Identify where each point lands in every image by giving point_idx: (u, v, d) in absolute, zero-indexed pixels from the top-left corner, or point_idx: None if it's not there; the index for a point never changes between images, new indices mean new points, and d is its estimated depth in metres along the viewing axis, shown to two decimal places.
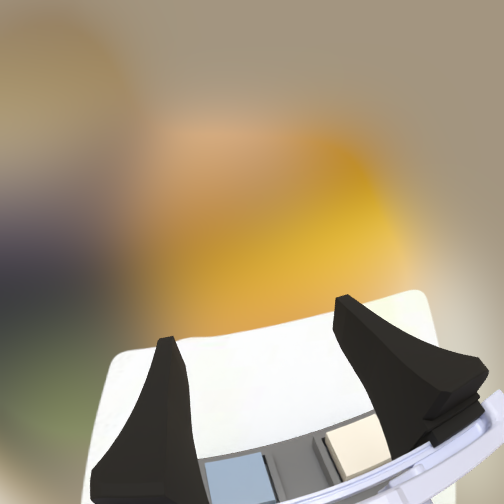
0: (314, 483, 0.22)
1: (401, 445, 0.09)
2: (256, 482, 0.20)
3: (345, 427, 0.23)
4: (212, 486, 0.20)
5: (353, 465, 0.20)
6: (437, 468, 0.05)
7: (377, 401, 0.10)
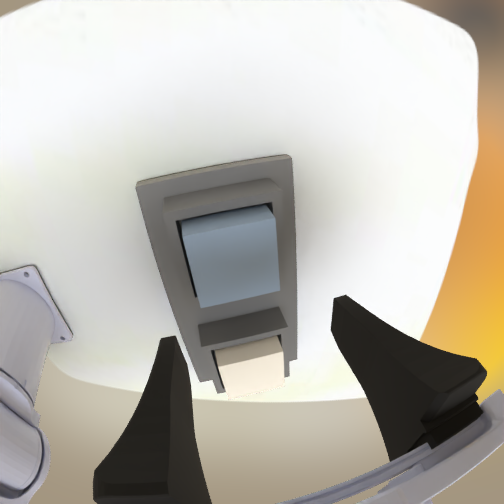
0: (226, 307, 0.24)
1: (399, 446, 0.09)
2: (230, 287, 0.18)
3: (281, 365, 0.23)
4: (228, 232, 0.16)
5: (230, 371, 0.22)
6: (437, 469, 0.05)
7: (375, 402, 0.10)
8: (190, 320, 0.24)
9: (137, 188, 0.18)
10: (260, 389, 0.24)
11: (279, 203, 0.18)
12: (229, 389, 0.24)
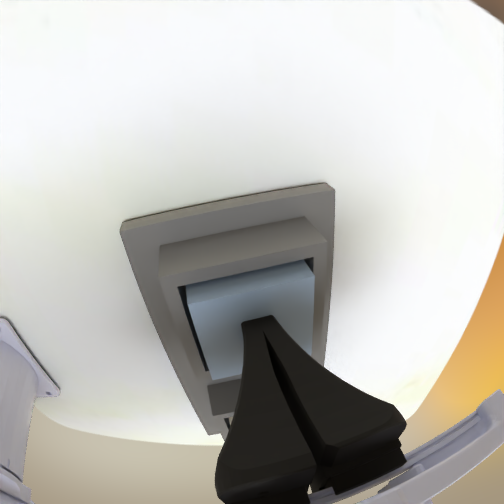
0: None
1: (314, 481, 0.08)
2: None
3: None
4: (251, 297, 0.12)
5: None
6: (437, 468, 0.05)
7: None
8: (198, 381, 0.19)
9: (122, 233, 0.13)
10: None
11: (322, 258, 0.13)
12: None
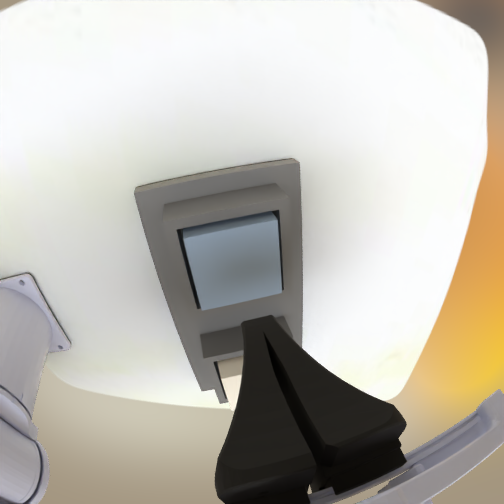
0: (229, 317, 0.23)
1: (314, 481, 0.08)
2: (232, 290, 0.18)
3: None
4: (230, 234, 0.16)
5: (233, 383, 0.21)
6: (437, 468, 0.05)
7: None
8: (192, 330, 0.23)
9: (136, 194, 0.17)
10: None
11: (286, 211, 0.17)
12: (232, 400, 0.23)
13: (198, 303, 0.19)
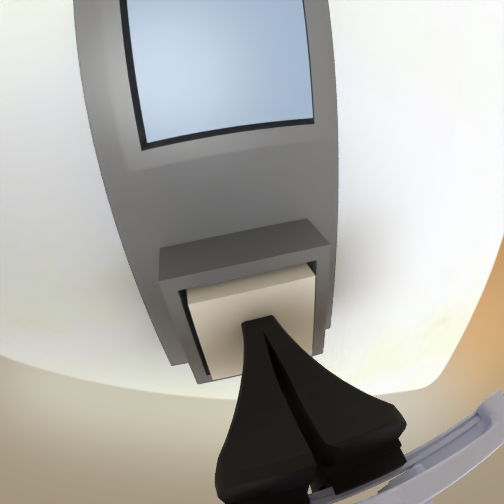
0: (212, 212, 0.13)
1: (314, 481, 0.08)
2: (212, 93, 0.08)
3: (310, 310, 0.13)
4: None
5: (212, 317, 0.12)
6: (437, 469, 0.05)
7: None
8: (146, 238, 0.13)
9: None
10: None
11: None
12: (213, 358, 0.13)
13: (147, 146, 0.09)
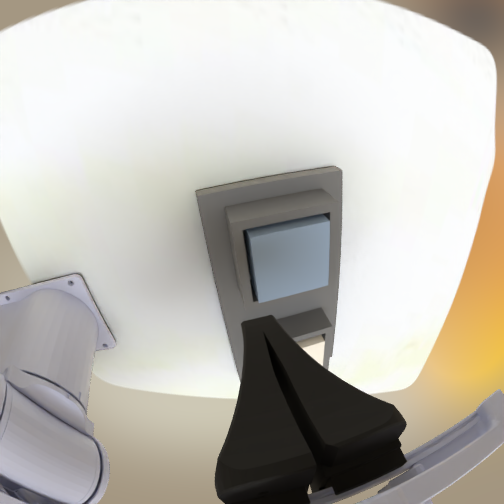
0: (274, 310, 0.25)
1: (314, 481, 0.08)
2: (287, 283, 0.20)
3: (321, 355, 0.25)
4: (290, 234, 0.18)
5: None
6: (437, 469, 0.05)
7: None
8: (239, 323, 0.25)
9: (198, 197, 0.19)
10: None
11: (336, 213, 0.19)
12: None
13: (253, 297, 0.22)
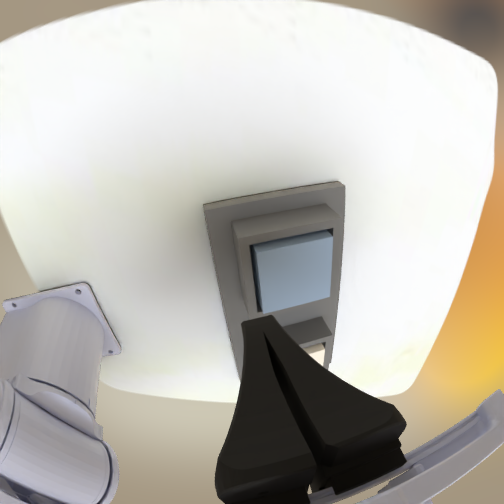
0: (276, 319, 0.26)
1: (314, 481, 0.08)
2: (290, 295, 0.21)
3: (321, 362, 0.26)
4: (295, 249, 0.19)
5: None
6: (437, 468, 0.05)
7: None
8: None
9: (206, 211, 0.20)
10: None
11: (339, 229, 0.20)
12: None
13: (257, 307, 0.22)
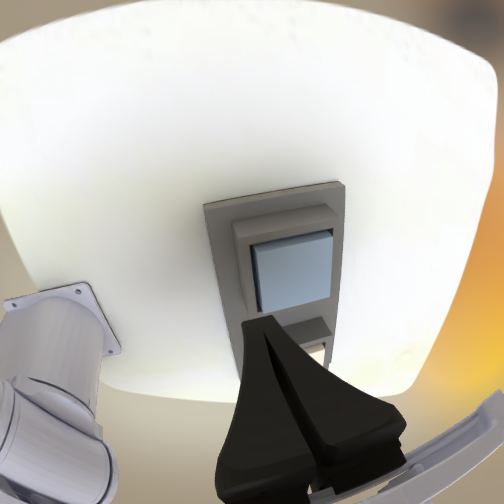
0: (276, 319, 0.26)
1: (314, 481, 0.08)
2: (290, 295, 0.21)
3: (321, 362, 0.26)
4: (295, 249, 0.19)
5: None
6: (437, 468, 0.05)
7: None
8: None
9: (206, 211, 0.20)
10: None
11: (339, 229, 0.20)
12: None
13: (257, 307, 0.22)
